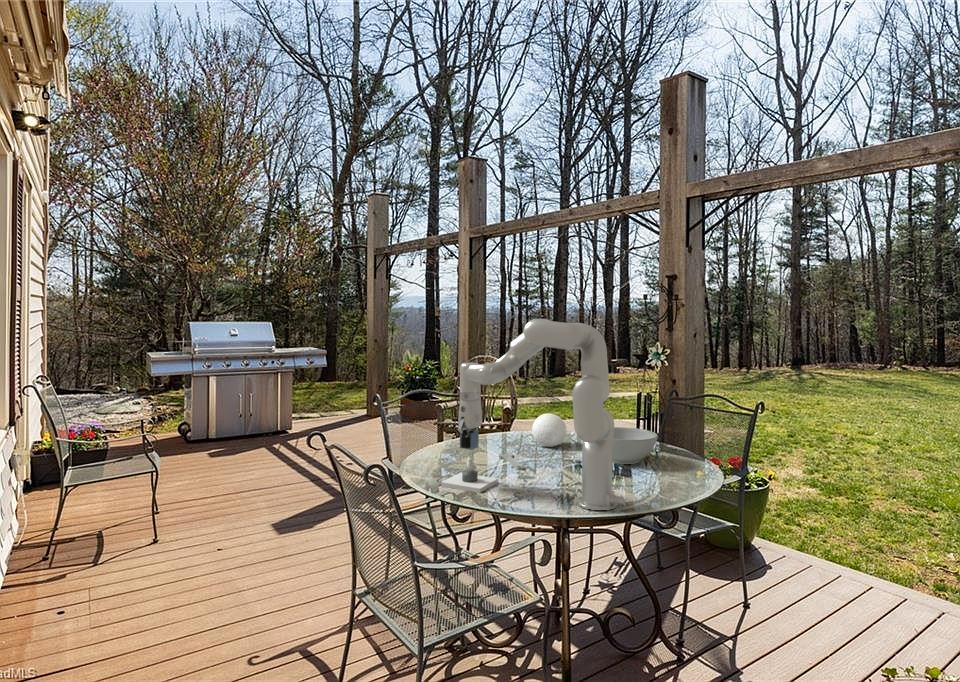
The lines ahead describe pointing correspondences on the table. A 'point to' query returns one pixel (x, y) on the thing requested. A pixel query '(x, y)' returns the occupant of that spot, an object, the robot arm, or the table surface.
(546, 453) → the table surface
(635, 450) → the decorative bowl
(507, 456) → the adjustable wrench
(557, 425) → the decorative orb
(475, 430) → the coupler
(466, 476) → the shaft mount
